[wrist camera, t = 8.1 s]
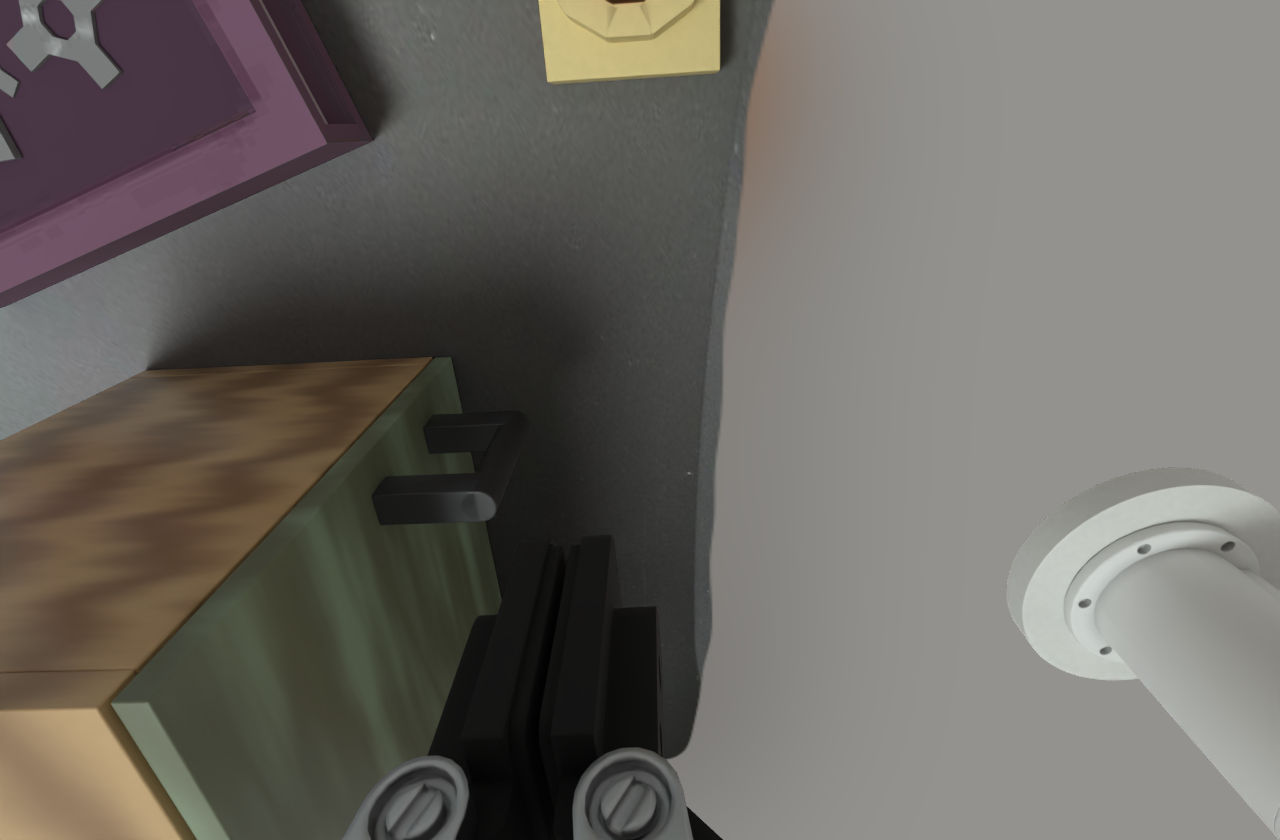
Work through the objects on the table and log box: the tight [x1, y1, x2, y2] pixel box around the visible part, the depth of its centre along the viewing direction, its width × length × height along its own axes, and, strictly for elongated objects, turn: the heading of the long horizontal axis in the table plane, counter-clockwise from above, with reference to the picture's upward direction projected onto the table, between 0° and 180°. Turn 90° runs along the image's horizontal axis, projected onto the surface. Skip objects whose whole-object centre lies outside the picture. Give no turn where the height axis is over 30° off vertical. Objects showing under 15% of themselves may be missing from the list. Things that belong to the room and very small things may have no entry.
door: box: [111, 357, 531, 840], centre depth 31 cm, size 6×26×24 cm, turn 3°
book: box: [0, 0, 373, 308], centre depth 28 cm, size 25×16×5 cm, turn 111°
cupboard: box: [0, 357, 433, 840], centre depth 32 cm, size 18×26×24 cm
